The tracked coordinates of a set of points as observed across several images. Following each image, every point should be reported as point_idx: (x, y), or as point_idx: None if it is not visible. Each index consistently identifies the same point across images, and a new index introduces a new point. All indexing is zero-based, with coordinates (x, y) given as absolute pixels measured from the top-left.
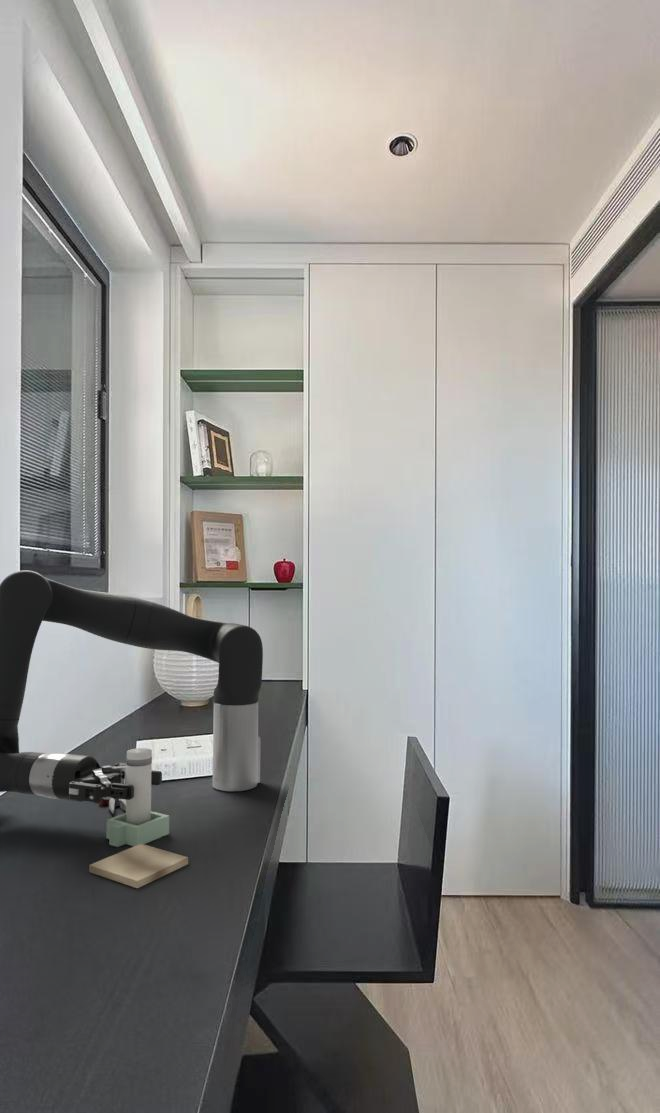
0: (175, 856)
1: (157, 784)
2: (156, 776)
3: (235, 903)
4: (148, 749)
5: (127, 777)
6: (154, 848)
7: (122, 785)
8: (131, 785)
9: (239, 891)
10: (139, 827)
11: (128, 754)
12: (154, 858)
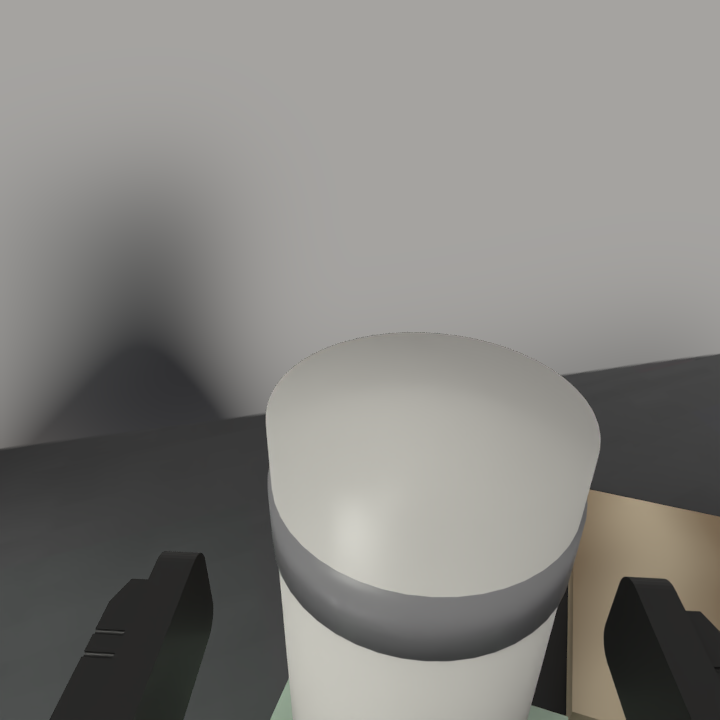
0: (595, 519)
1: (208, 633)
2: (196, 597)
3: (674, 371)
4: (323, 366)
5: (533, 692)
6: (581, 620)
7: (705, 656)
8: (645, 581)
9: (623, 377)
10: (546, 711)
11: (591, 478)
12: (662, 574)
